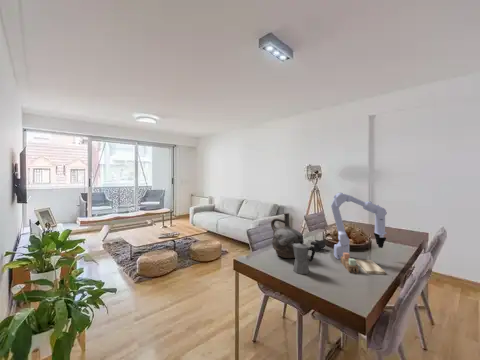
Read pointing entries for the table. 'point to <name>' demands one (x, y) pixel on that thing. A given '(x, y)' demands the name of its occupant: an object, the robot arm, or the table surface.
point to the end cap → (318, 245)
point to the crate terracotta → (346, 255)
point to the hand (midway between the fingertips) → (379, 245)
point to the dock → (370, 266)
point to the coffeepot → (302, 257)
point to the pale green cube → (352, 262)
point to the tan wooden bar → (348, 266)
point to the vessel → (285, 238)
